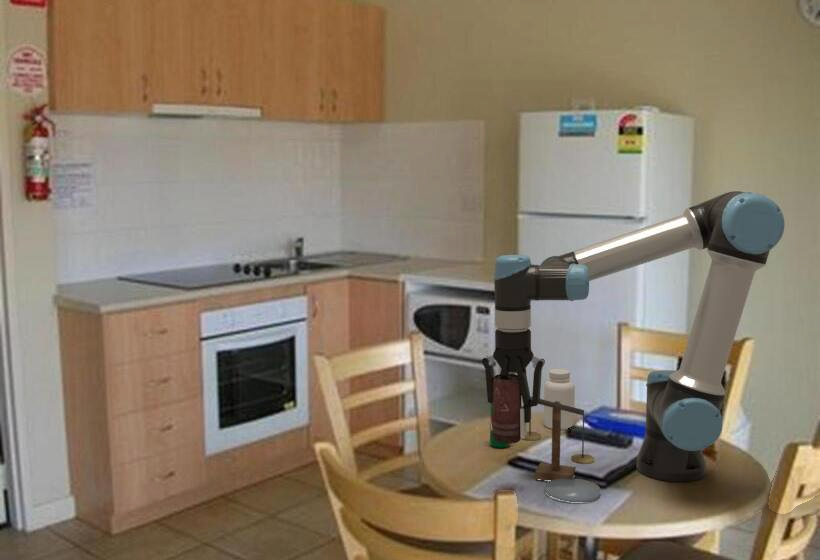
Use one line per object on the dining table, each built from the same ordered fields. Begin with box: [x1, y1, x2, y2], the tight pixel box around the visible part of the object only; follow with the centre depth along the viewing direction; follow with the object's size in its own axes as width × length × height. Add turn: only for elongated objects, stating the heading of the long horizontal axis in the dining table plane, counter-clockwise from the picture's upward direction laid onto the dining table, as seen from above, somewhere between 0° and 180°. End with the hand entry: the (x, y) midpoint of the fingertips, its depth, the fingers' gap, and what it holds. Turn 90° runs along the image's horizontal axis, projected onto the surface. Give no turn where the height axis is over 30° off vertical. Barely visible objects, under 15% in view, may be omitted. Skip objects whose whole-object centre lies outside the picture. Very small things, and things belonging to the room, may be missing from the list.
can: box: [493, 373, 522, 445], centre depth 188 cm, size 6×6×14 cm
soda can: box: [489, 403, 511, 449], centre depth 218 cm, size 5×5×12 cm
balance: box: [520, 396, 595, 480], centre depth 195 cm, size 17×6×18 cm, turn 71°
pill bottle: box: [543, 368, 576, 431], centre depth 233 cm, size 8×8×15 cm
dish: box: [544, 477, 601, 503], centre depth 187 cm, size 12×12×1 cm
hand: (514, 435), depth 189 cm, fingers open, 3 cm apart
